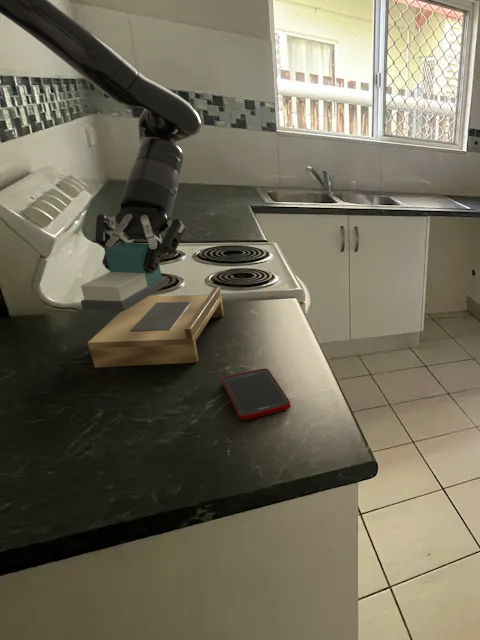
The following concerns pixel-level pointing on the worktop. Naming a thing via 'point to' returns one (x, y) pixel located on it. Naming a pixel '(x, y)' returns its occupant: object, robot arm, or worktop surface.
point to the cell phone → (255, 394)
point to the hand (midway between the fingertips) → (129, 270)
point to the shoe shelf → (156, 331)
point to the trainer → (122, 280)
